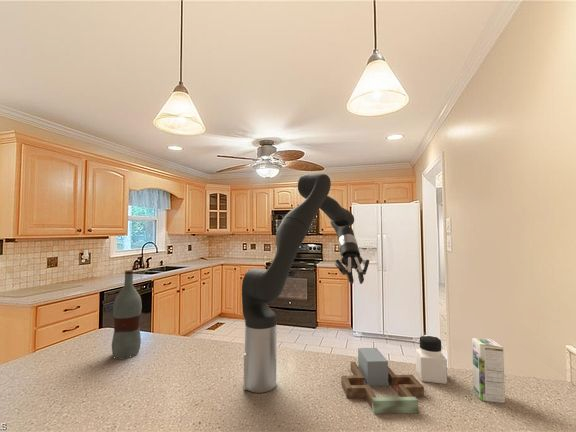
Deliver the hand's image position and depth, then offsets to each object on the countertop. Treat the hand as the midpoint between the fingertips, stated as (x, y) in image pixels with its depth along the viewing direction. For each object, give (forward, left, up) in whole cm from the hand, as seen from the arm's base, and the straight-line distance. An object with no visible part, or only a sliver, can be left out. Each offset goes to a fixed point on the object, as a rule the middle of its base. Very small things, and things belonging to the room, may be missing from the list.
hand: (356, 282), depth 107 cm
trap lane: (0, -23, -26) cm, 35 cm away
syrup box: (+28, -28, -26) cm, 47 cm away
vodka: (-84, +3, -26) cm, 88 cm away
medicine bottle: (+18, -17, -26) cm, 36 cm away
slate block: (0, -16, -26) cm, 31 cm away
